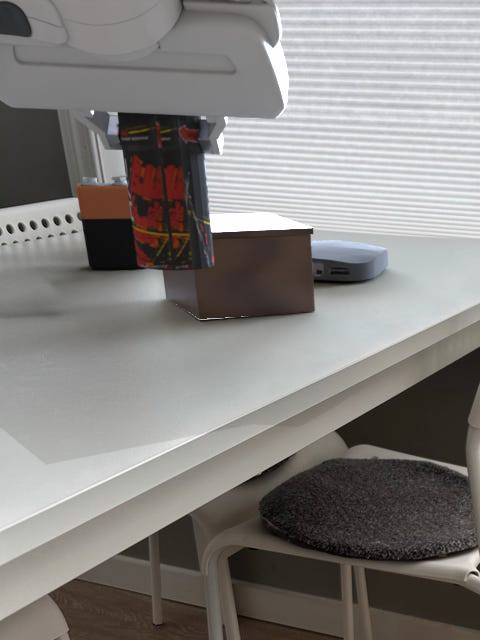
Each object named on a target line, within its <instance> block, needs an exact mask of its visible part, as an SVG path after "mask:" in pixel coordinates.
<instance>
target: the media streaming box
mask: <svg viewBox="0 0 480 640" xmlns="http://www.w3.org/2000/svg"><path fill="white" fill-rule="evenodd" d="M311 248H312V266H313V281H326V282H327V281H329V282H361V281H364V280H365V281H366V280H370V279H374V278H376V277H378V276H379V275H380V274H381V273H383V272H384V271H385V270H386V269H387V268H388V266H389V258H388V257H389V255H388V253H389V252H388V248H386V247H382V246H377V245H372V244H370V243H363V242H357V241H349V240H340V239H339V240H338V239H336V240H335V239H320V240H319V239H318V240H311Z"/></svg>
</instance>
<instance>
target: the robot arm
mask: <svg viewBox="0 0 480 640" xmlns="http://www.w3.org/2000/svg"><path fill="white" fill-rule="evenodd" d="M281 22H282V21H281V17H280V12H279V9H278V6H277V3H276V2H275V0H0V101H1V102H2V103H4V104H5V105H7V106H8V107H10V108H14V109H35V110H36V109H39V110H60V111H61V110H62V111H71V113H72V115H73V117H74V118H75V119H76V120H77V121H79V122H80V123H81V124H83V125H84V126H85V127H86V128H88V129H89V130H90V131H91V132H93V133H94V134H96V135H98V137H99V139H100V142H101V144H102V146H103V148H104V150H108V151H122V144H121V136H120V129H119V121H118V114H109V113H117V112H124V113H145V114H167V115H189V116H201V117H205V118H201V119H200V123H199V129H200V130H199V131H198V136H197V140H198V143H199V146H201V151H202V153H203V154H204V155H220V156H221V155H222V154H223V147H224V136H223V132H224V131H225V129H226V126H227V124H228V118H234V119H236V118H237V119H259V120H276V119H278V118H279V117H280V116H281V114H282V113H283V112H284V111H285V110H286V108H287V103H288V95H289V93H288V91H289V74H288V67H287V63H286V58H285V56H284V55H285V54H284V52H283V48H282V45H281V42H280V40H281V38H282V35H283V29H282V23H281Z"/></svg>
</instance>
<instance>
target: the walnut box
mask: <svg viewBox="0 0 480 640" xmlns="http://www.w3.org/2000/svg"><path fill="white" fill-rule="evenodd" d="M210 219H211V230H212V240H213V251H214V261H215V265H214V266H212V267H209V268H204V269H196V270H162V277H163V284H164V292H165V298H166V300H168V301H169V300H170V301H169V302H171V303H172V302H173V303H172V304H174V303H175V304H177V305H178V306H180V307H181V308H183V309H185V310H186V311H188V312H190V313H191V314H193V315H194V316H196V317H197V318H199V319H207V318H225V317H241V316H255V317H264V316H263V315H267V316H276V315H277V316H278V315H290V314H300V313H311V312H316V306H315V305H316V303H315V288H314V287H315V285H314V280H313V266H312V248H311V241H312V235H314V227H312V226H309V225H306V224H303V223H300V222H298V221H294V220H291V219H288V218H285V217H282V216H279V215H277V214H274V213H270V212H255V213H254V212H253V213H224V214H223V213H222V214H210ZM175 304H174V305H175ZM177 305H176V306H177ZM178 306H177V307H178ZM180 307H179V308H180ZM181 308H180V309H181ZM183 309H182V310H183ZM186 311H185V312H186ZM261 315H262V316H261Z"/></svg>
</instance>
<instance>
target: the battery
mask: <svg viewBox="0 0 480 640" xmlns="http://www.w3.org/2000/svg"><path fill="white" fill-rule="evenodd" d="M110 179H111V181H113V182H98V180H97V177H96V176H83V177H82V182H79V183H77V184H76V186H75V189H76V195H77V201H78V207H79V214H80V219H81V227H82V231H83V237H84V243H85V248H86V254H87V255H86V256H87V259H88V260H87V261H88V266H89V268H90V269H91V270H93V271H101V270H103V271H104V270H135V269H136V270H137V269H139V270H141V269H144V268H143V267H140V266H138V264H137V256H136V249H135V241H134V234H133V226H132V219H131V211H130V204H129V196H128V189H127V181H126V175H111V176H110Z"/></svg>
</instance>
